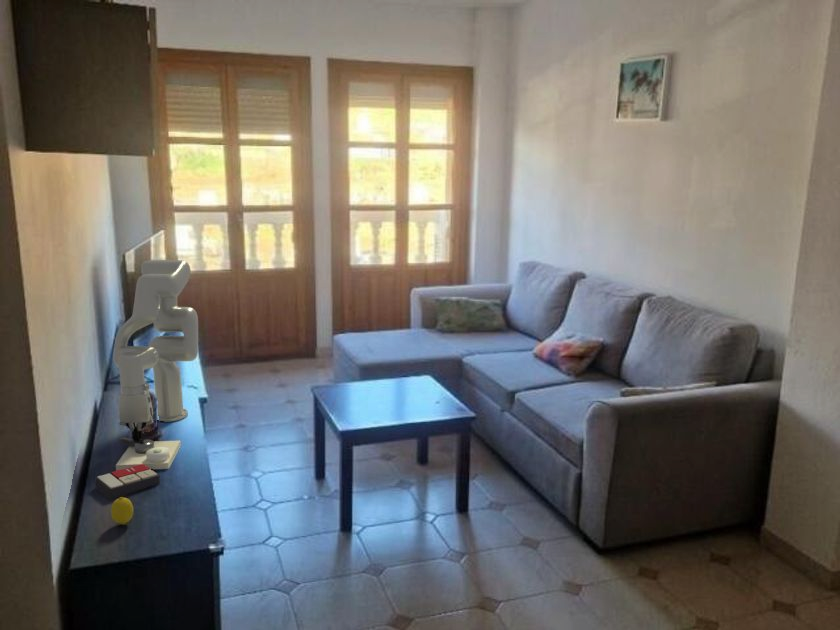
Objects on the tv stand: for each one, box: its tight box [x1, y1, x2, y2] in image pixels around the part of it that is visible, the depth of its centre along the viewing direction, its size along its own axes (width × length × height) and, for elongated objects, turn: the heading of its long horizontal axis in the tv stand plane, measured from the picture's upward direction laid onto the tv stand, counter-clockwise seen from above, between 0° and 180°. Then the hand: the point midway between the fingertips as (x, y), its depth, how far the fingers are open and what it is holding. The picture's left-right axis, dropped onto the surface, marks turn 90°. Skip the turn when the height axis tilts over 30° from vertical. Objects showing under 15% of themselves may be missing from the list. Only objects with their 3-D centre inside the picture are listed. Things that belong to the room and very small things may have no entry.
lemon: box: [110, 496, 134, 526], centre depth 186 cm, size 6×6×8 cm
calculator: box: [94, 464, 161, 501], centre depth 209 cm, size 11×4×15 cm
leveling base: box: [115, 440, 182, 471], centre depth 228 cm, size 18×16×5 cm
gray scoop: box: [119, 436, 155, 454], centre depth 231 cm, size 13×6×2 cm, turn 66°
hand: (138, 440), depth 234 cm, fingers closed
